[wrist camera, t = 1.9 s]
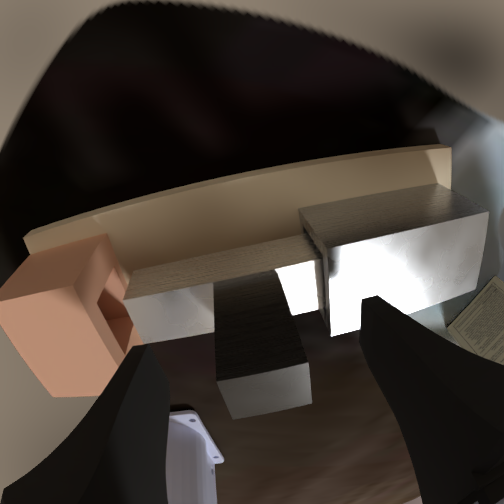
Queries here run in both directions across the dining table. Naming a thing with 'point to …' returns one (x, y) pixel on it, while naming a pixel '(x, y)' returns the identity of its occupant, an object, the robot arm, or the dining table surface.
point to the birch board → (241, 206)
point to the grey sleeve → (396, 249)
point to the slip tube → (239, 316)
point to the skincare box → (483, 323)
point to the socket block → (70, 316)
